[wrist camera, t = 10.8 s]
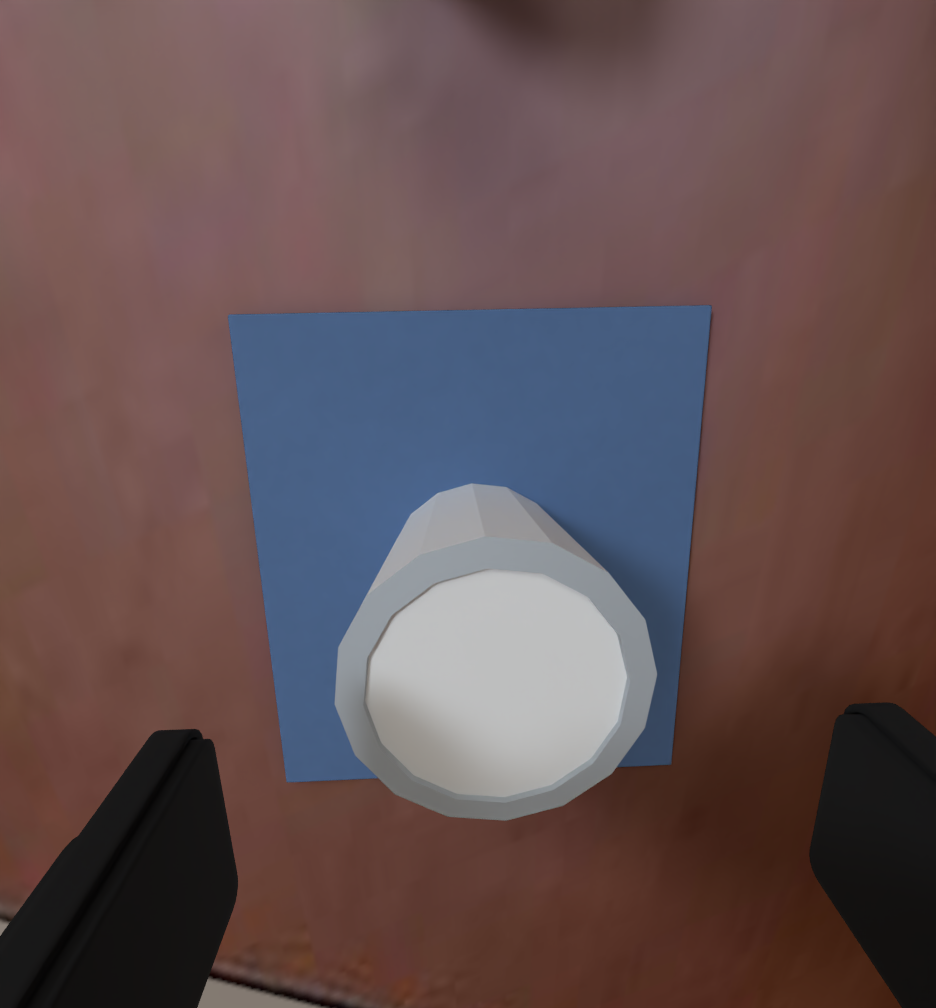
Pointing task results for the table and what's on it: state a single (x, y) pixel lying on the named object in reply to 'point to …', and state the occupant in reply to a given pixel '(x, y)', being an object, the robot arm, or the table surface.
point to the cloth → (462, 469)
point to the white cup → (492, 661)
